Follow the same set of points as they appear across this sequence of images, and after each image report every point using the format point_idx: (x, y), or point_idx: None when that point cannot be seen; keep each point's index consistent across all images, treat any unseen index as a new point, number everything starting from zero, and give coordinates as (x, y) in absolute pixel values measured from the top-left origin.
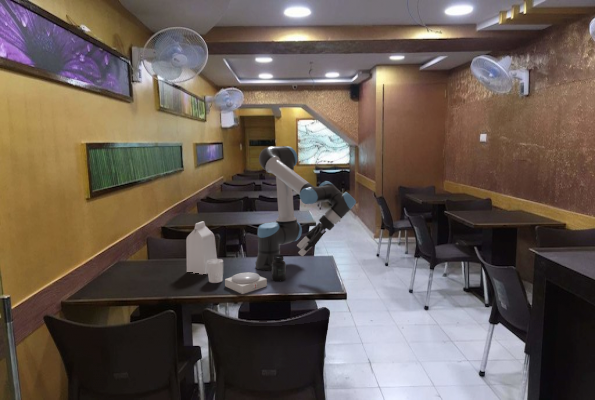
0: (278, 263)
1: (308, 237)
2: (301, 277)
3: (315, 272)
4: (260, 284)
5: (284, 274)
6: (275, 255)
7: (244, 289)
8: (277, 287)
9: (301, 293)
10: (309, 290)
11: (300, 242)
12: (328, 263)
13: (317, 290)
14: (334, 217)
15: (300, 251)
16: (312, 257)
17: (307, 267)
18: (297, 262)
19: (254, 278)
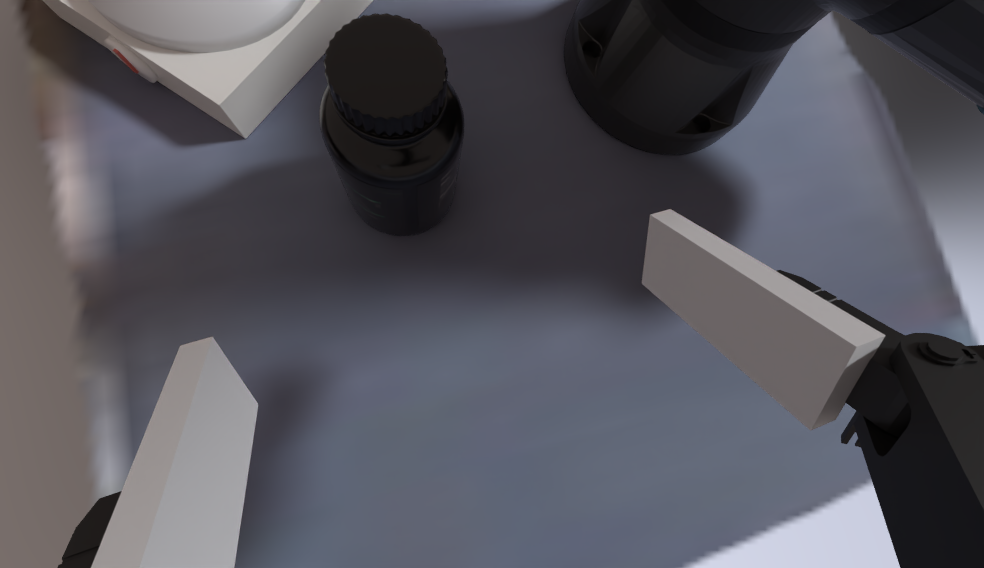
0: (328, 119)
1: (875, 403)
2: (481, 341)
3: (618, 422)
4: (180, 88)
5: (377, 217)
6: (403, 28)
7: (52, 4)
8: (227, 217)
9: (101, 437)
10: None
11: (703, 257)
12: (848, 472)
13: None
14: None
15: (176, 388)
16: (930, 312)
17: None
18: (791, 232)
19: (154, 11)
